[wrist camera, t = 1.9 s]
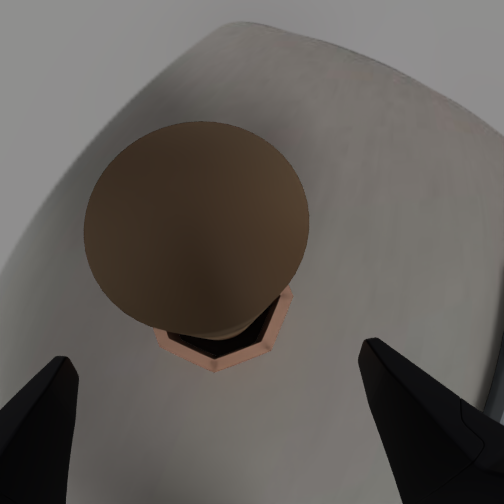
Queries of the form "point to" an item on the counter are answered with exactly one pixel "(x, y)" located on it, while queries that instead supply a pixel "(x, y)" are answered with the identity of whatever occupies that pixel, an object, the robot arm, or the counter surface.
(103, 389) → the counter surface
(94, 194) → the walnut dowel
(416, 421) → the robot arm
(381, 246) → the counter surface
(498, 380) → the slate tray
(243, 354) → the terracotta cup
